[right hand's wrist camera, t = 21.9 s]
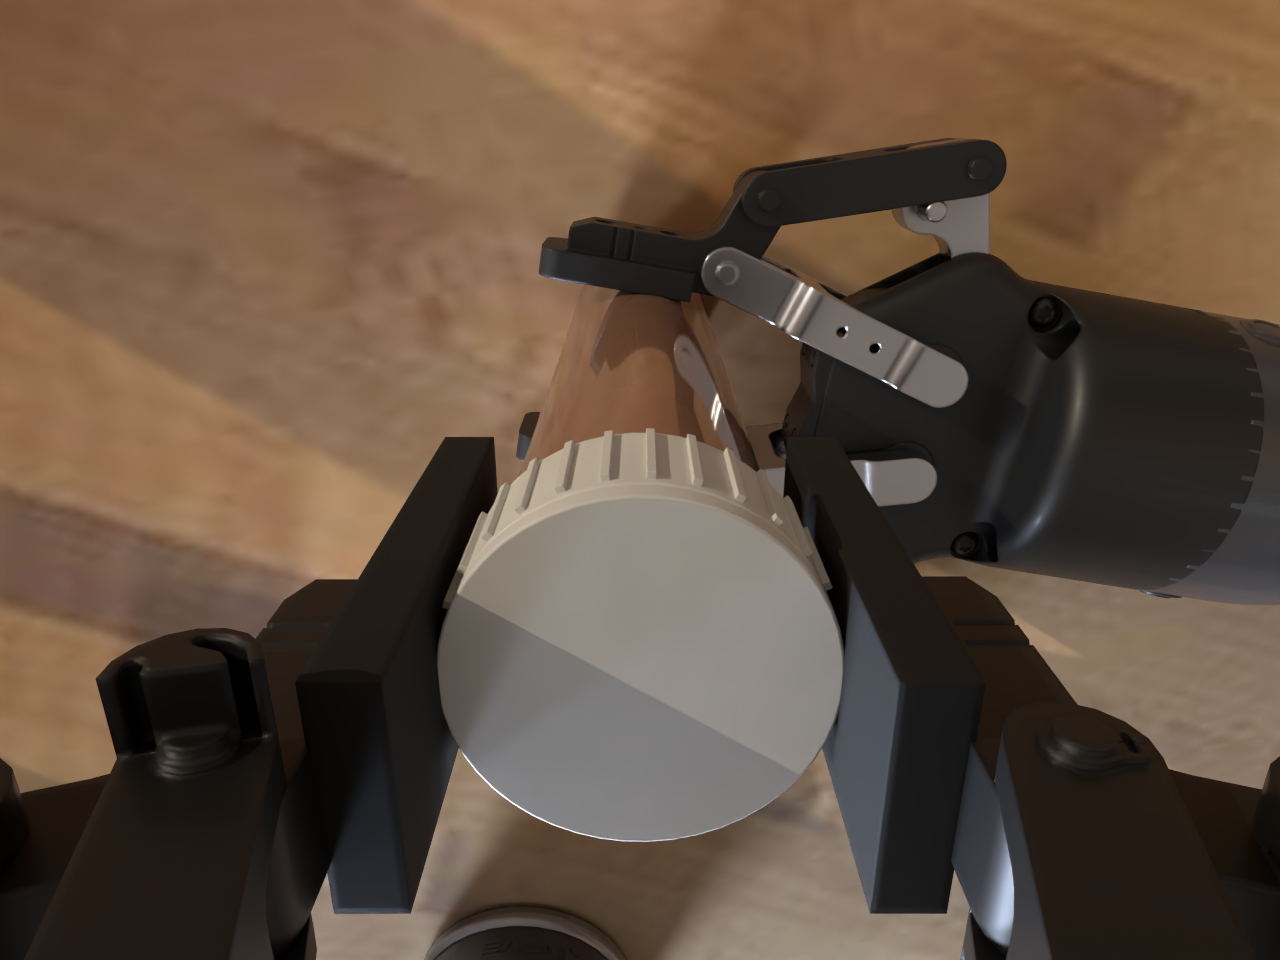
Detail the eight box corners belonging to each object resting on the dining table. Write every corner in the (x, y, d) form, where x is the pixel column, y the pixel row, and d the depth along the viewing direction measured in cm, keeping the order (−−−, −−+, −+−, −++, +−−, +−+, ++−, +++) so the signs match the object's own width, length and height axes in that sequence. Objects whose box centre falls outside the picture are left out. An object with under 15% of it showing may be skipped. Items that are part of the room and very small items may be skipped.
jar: (613, 228, 28) (564, 425, 10) (726, 290, 29) (873, 579, 11) (556, 341, 29) (420, 698, 11) (665, 398, 30) (702, 818, 12)
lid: (735, 363, 11) (756, 415, 9) (868, 666, 12) (911, 767, 10) (396, 514, 12) (347, 593, 10) (562, 782, 13) (549, 895, 11)
